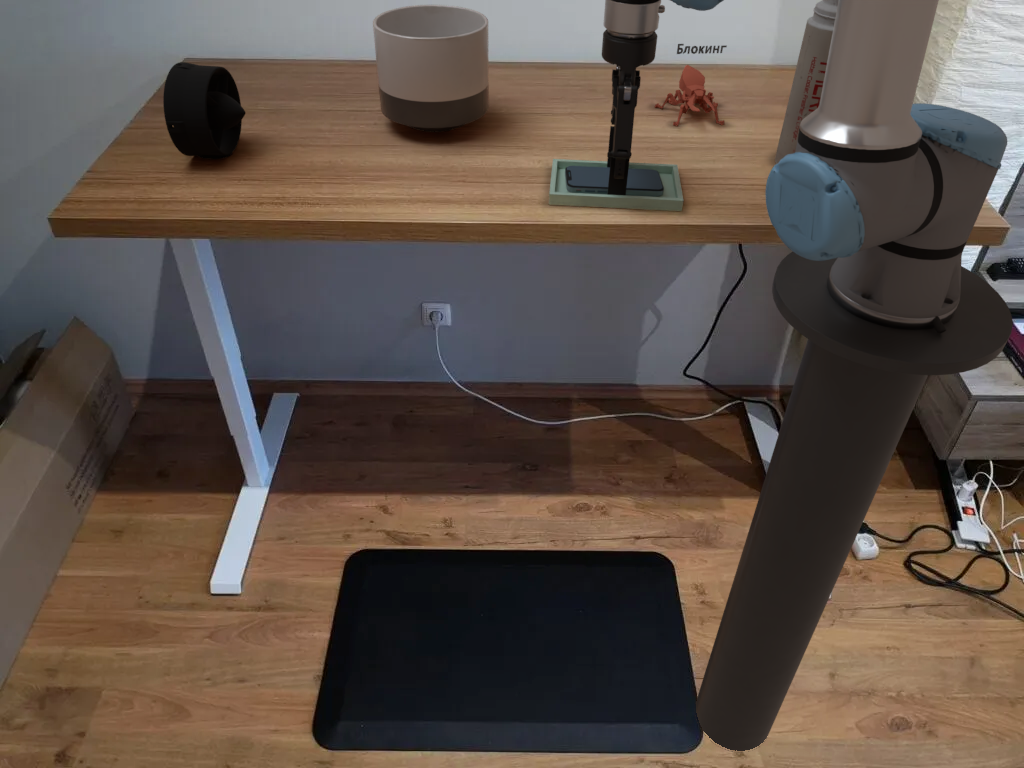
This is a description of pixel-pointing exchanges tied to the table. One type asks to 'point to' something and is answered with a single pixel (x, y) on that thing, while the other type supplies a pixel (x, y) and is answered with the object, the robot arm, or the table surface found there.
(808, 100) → the thermos bottle
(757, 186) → the table surface
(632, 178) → the smartphone
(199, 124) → the black ducted fan
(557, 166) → the green tray
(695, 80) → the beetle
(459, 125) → the planter
